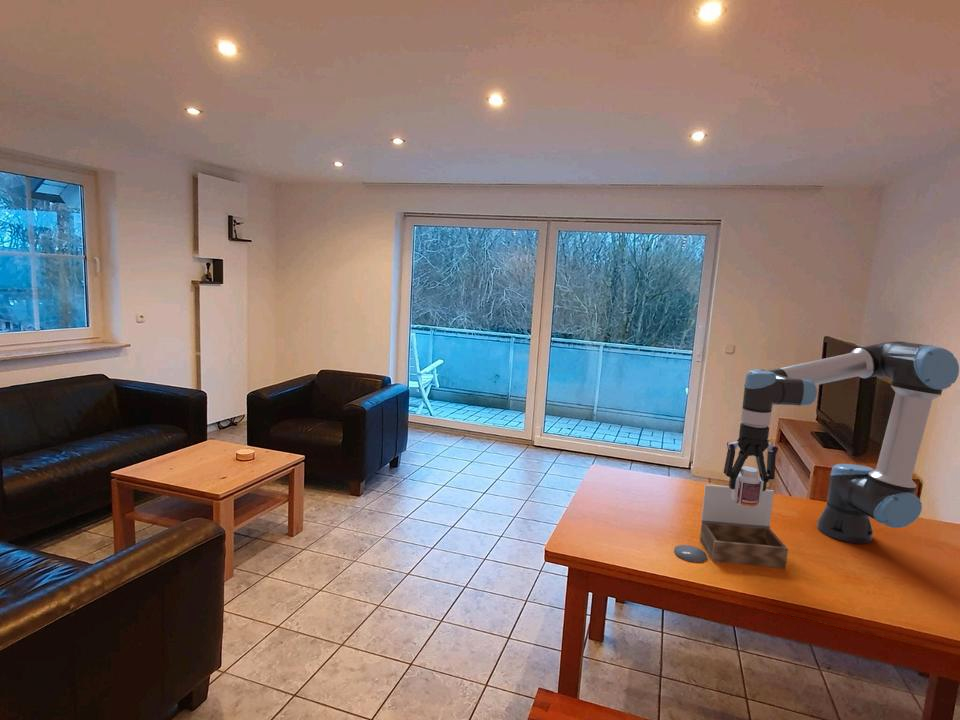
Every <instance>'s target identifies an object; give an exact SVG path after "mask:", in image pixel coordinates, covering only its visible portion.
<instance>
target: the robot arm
mask: <svg viewBox="0 0 960 720" xmlns="http://www.w3.org/2000/svg"><path fill="white" fill-rule="evenodd" d="M959 373H960V365H959V362H958V359H957V357H955V355H954V354H953V352H952V351H950V350H948V349H946V348H944V347H940V346H935V345H933V344H930V345H929V344H922V343H921V344H920V343H915V342H913V343H912V342H906V341H900V340H899V341H898V340H897V341H896V340H895V341H885V342H881V343H875V344H871V345H866V346H862V347H861V346H860V347H857V348H854V349H852V350H851V351H850V352H849V353H845V354H840V355H835V356H830V357H826V358H821V359H816V360H812V361H807V362H802V363H798V364H793V365H789V366H785V367H780V368H779V367H777V368H774V369H770V370H769V369H768V370H765V369H759V368H758V369H752V370H751V369H750V370H749V371H748V372H747V373H746V375H745V376H746V377H745V381H744V385H743V386H744V387H743V388H744V391H743V399H742V400H743V401H742V407H741V415H740V421H741V422H740V424H739V430H738V431H739V434H738V439H737V440H736V441H734V442H731V441H727V442H726V447H727V452H726V453H727V454H726V458H725V463H724V468H723V473H724V475H725V476H727V477H728V478H729V482H728V487H730V488H731V489H732V490H731V498H732V499H733V500H734V501H737V496H738V488H739V479H738V478H737V477H738V475H739V474H741V473H740V470H741V468H742V466H744V464H745V462H746V460H747V459H748V457H755V460H756V461H755V462H756V465H757V468H758V469H757V470H758V474H759V477H760V478H759V477H758V478H759V479H760V486H759V495H758V503H761V500H762V492H763V491H765V490H767V483H769V481H770V480H775V478H776V477H775V476H776V458H777V457H776V455H777V453H778V450H779V447H778V446H777V445H774V444H771V443H769V441H768V439H769V436H770V435H769V434H770V427H769V426H770V425H771V419H772V418H771V417H772V411H773V405H774V406H776V405H778V406H779V405H780V406H798V407H800V406H810V405H812V404H813V403H814V402H815V401H816V399H817V394H818V388H817V386H818V385H824V384H827V383H831V382H832V383H833V382H836V381H842V380H846V379H852V378H857V377H859V378H861V379H868V378H873V377H877V378H886V379H891V383H890V387H891V388H892V390H893V391H894V393H895V394H894V397H893V401H892V402H893V403H892V405H891V410H890V414H889V418H888V421H887V425H886V428H885V433H884V437H883V440H882V444H881V449H880V451H879V456H878V460H877V464H876V468H875V469H874V468H872V467H870V466H866V465H861V464H854V463H852V464H851V463H836V464H834V465H833V466H832V468H831V472H830V474H829V483H828V491H827V500H826V505H825V507H824V509H823V510H822V513H821V514H820V516H819V518H818V519H817V523H816V527H817V529H818V530H819V531H820V532H821V533H823V534H824V535H826V536H828V537H831V538H832V539H836V540H839V541H843V542H847V543H851V544H852V543H853V544H861V545H863V544H868V543H871V542H872V541H873V535H874V532H873V528H872V524H871V523H872V522H871V520H870V518H871V519H872V520H874V521H876V522H877V523H879V524H883V525H885V526H888V527H889V528H894V529H899V528H900V529H901V528H904V527H908V526H909V525H910V524H913V523H914V522H915V521H916V520H917V519H918V518H919V517H920V515H921V512H922V509H923V505H922V502H921V499H920V498H919V497H918V495H916V494H915V493H916V489H917V484H916V483H915V481H914V480H913V474H914V471H915V466H916V465H917V464H916V463H917V460H918V457H919V456H918V455H919V453H920V452H919V451H920V449H921V444H922V441H923V437H924V433H925V430H926V426H927V422H928V417H929V415H930V412H931V407H932V404H933V401H934V400H935V399H936V398H939V397H940V396H942V393H943V390H946V389H948V388H951V386H952V385H953V384H955V382H957V379H958V378H959ZM737 448H739V449H740V450H739V452H738V455H737V457H736V460H735V456H736V450H737ZM765 451H767V455H766V456H767V457H766V464H765V460H764V459H765V456H764V452H765Z"/></svg>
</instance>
